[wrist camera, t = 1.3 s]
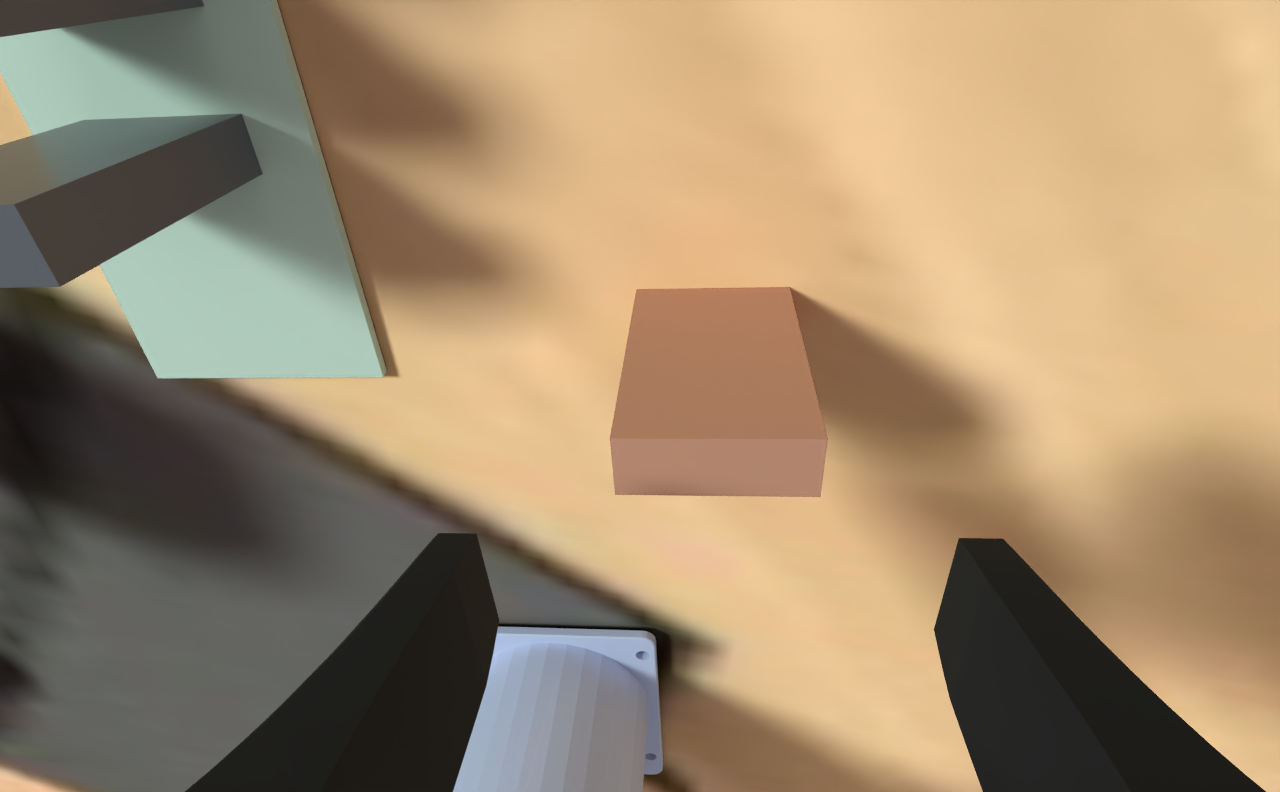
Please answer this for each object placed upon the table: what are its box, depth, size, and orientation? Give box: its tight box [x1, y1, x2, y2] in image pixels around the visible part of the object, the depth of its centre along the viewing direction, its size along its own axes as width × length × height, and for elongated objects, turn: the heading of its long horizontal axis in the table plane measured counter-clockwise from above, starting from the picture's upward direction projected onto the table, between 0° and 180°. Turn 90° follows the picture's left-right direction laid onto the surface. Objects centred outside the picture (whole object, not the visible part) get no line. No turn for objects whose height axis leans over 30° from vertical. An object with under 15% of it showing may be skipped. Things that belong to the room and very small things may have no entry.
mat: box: [0, 0, 387, 378], centre depth 15 cm, size 19×7×1 cm, turn 3°
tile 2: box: [0, 114, 263, 288], centre depth 14 cm, size 1×4×6 cm, turn 93°
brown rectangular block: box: [610, 287, 828, 497], centre depth 16 cm, size 1×4×6 cm, turn 93°
